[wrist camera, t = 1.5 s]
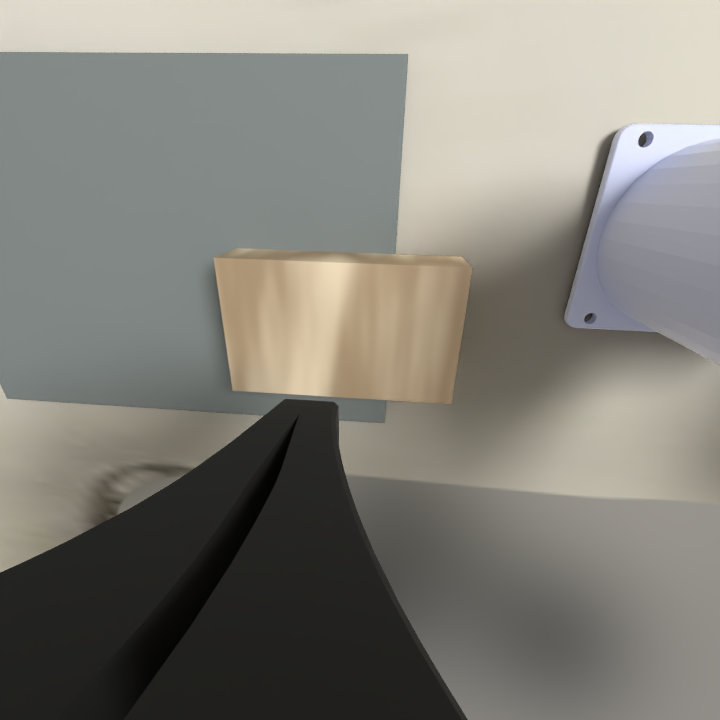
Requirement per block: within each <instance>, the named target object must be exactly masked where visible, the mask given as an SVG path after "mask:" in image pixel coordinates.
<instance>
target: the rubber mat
mask: <svg viewBox="0 0 720 720" xmlns="http://www.w3.org/2000/svg"><path fill="white" fill-rule="evenodd" d="M407 64H408V54H261V53H69V52H0V384H1V386H2V389H3V391H4V393H5V395H6V397H7V399H21V400H36V401H52V402H67V403H83V404H98V405H113V406H129V407H144V408H159V409H175V410H190V411H205V412H221V413H236V414H251V415H266V414H267V413H268V412H269V411H271V410H272V409H273V408H274V407H275V406H277V405H278V404H279V403H280V402H282V401H283V400H284V399H298V400H314V401H330V402H335V403H336V404H337V405H338V406H339V420H343V421H359V422H374V423H385V408H386V400H376V399H360V398H344V397H328V396H311V395H295V394H279V393H262V392H246V391H233V390H232V383H231V376H230V369H229V362H228V355H227V348H226V341H225V334H224V327H223V320H222V313H221V306H220V299H219V292H218V285H217V278H216V271H215V265H214V257H217V256H219V255H222V254H224V253H227V252H230V251H232V250H235V249H237V248H243V249H270V250H297V251H323V252H350V253H376V254H395V252H396V236H397V220H398V205H399V189H400V174H401V158H402V142H403V127H404V111H405V96H406V80H407Z"/></svg>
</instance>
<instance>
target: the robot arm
mask: <svg viewBox="0 0 720 720" xmlns="http://www.w3.org/2000/svg"><path fill="white" fill-rule="evenodd" d="M643 133H645V134H646V136H647V141H646V143H645V145H644V146H642V147H640V146H639V144H638V139H639V137H640V135H641V134H643ZM589 313H592V317H591V319H590V320H588V321H584V318H585V316H586V315H587V314H589ZM564 320H565V322H566V323H567V324H568V325H569V326H571V327H573V328H585V329H605V330H626V331H647V332H658V333H660V334H662V335H664V336H666V337H667V338H669V339H671V340H673V341H675V342H677V343H679V344H680V345H682V346H684V347H686V348H688V349H690V350H692V351H693V352H695V353H697V354H699V355H701V356H703V357H705V358H706V359H708V360H710V361H712V362H714V363H716V364H717V365H719V366H720V125H694V124H631V125H627V126H624V127H623V128H621V129H620V130H619V131H618V132H617V133H616V134H615V136H614V138H613V141H612V145H611V148H610V152H609V156H608V159H607V163H606V166H605V170H604V174H603V177H602V181H601V185H600V188H599V192H598V195H597V199H596V203H595V206H594V210H593V213H592V217H591V221H590V224H589V228H588V232H587V235H586V239H585V242H584V246H583V250H582V253H581V257H580V261H579V264H578V268H577V271H576V275H575V279H574V282H573V286H572V290H571V293H570V297H569V300H568V304H567V308H566V311H565V315H564ZM0 720H467V718H466V716H465V715H464V713H463V711H462V710H461V708H460V706H459V705H458V703H457V702H456V700H455V698H454V697H453V696H452V693H451V692H450V690H449V689H448V687H447V685H446V684H445V682H444V681H443V679H442V678H441V676H440V674H439V672H438V670H437V669H436V667H435V666H434V664H433V662H432V660H431V659H430V657H429V655H428V654H427V652H426V650H425V648H424V647H423V645H422V643H421V642H420V640H419V638H418V636H417V634H416V633H415V631H414V629H413V627H412V625H411V624H410V622H409V620H408V618H407V616H406V615H405V613H404V611H403V609H402V608H401V606H400V604H399V602H398V600H397V598H396V596H395V594H394V592H393V590H392V588H391V586H390V584H389V582H388V579H387V578H386V575H385V573H384V572H383V569H382V567H381V565H380V563H379V561H378V559H377V557H376V555H375V553H374V551H373V549H372V547H371V544H370V542H369V539H368V537H367V535H366V532H365V530H364V528H363V525H362V523H361V520H360V517H359V515H358V512H357V510H356V507H355V504H354V501H353V499H352V495H351V492H350V489H349V486H348V482H347V479H346V475H345V472H344V468H343V464H342V460H341V455H340V450H339V406H338V405H337V404H336V403H335V402H330V401H314V400H298V399H284V400H283V401H282V402H280V403H279V404H278V405H277V406H275V407H274V408H273V409H272V410H271V411H269V412H268V413H267V414H266V415H265V416H263V417H262V418H261V419H260V420H258V421H257V422H256V423H255V424H254V425H252V426H251V427H250V428H249V429H247V430H246V431H245V432H243V433H242V434H241V435H240V436H238V437H237V438H236V439H235V440H233V441H232V442H231V443H229V444H228V445H227V446H225V447H224V448H223V449H221V450H220V451H218V452H217V453H216V454H214V455H213V456H211V457H210V458H209V459H207V460H206V461H204V462H203V463H202V464H200V465H199V466H197V467H196V468H195V469H193V470H192V471H190V472H189V473H187V474H186V475H184V476H183V477H181V478H180V479H178V480H177V481H175V482H173V483H172V484H170V485H169V486H167V487H165V488H164V489H162V490H160V491H159V492H157V493H155V494H154V495H152V496H150V497H149V498H147V499H145V500H144V501H142V502H140V503H139V504H137V505H135V506H133V507H132V508H130V509H128V510H126V511H124V512H122V513H120V514H119V515H117V516H115V517H113V518H111V519H109V520H107V521H105V522H103V523H101V524H100V525H98V526H96V527H94V528H92V529H90V530H88V531H86V532H84V533H82V534H81V535H79V536H77V537H75V538H73V539H71V540H69V541H67V542H65V543H63V544H61V545H59V546H57V547H55V548H53V549H51V550H48V551H46V552H44V553H42V554H40V555H38V556H36V557H34V558H32V559H29V560H27V561H25V562H23V563H21V564H19V565H16V566H14V567H12V568H10V569H8V570H5V571H3V572H1V573H0Z"/></svg>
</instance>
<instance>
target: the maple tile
mask: <svg viewBox="0 0 720 720" xmlns="http://www.w3.org/2000/svg"><path fill="white" fill-rule="evenodd" d="M214 265H215V271H216V278H217V285H218V292H219V299H220V306H221V313H222V320H223V327H224V334H225V341H226V348H227V355H228V362H229V369H230V376H231V383H232V390H233V391H246V392H262V393H279V394H295V395H311V396H328V397H344V398H360V399H376V400H393V401H409V402H425V403H442V404H452V398H453V392H454V386H455V379H456V373H457V366H458V360H459V353H460V347H461V340H462V334H463V327H464V321H465V315H466V308H467V302H468V295H469V289H470V282H471V276H472V269H473V268H472V267H471V266H470V265H469V264H468V263H467V262H466V261H465V260H464V259H463V258H462V257H456V256H430V255H403V254H376V253H350V252H323V251H297V250H270V249H243V248H237V249H235V250H232V251H230V252H227V253H224V254H222V255H219V256H217V257H214Z"/></svg>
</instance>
